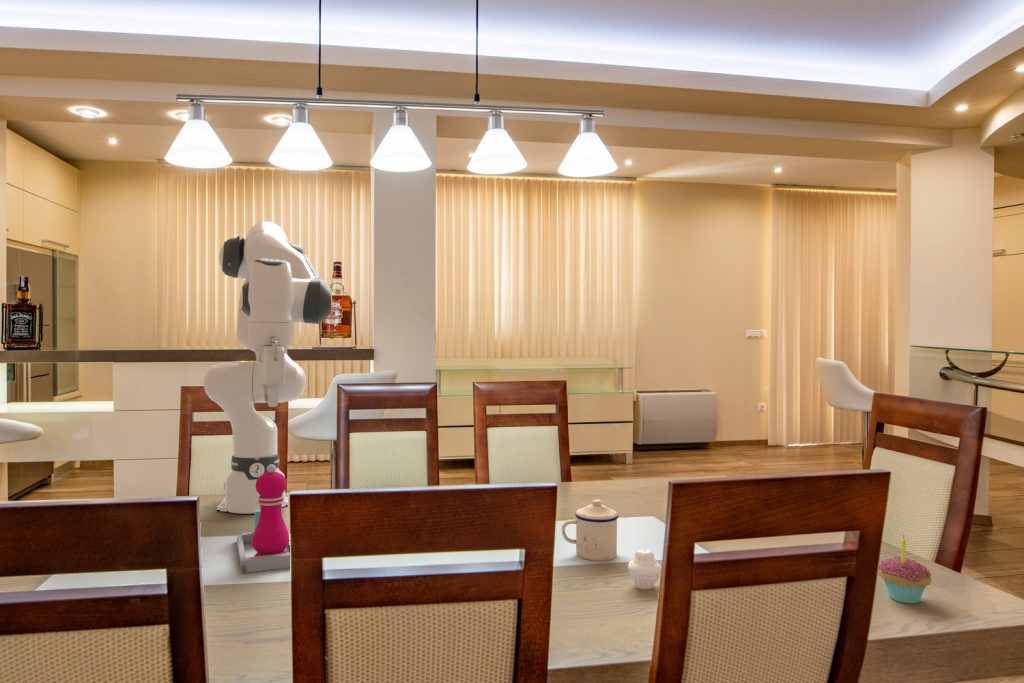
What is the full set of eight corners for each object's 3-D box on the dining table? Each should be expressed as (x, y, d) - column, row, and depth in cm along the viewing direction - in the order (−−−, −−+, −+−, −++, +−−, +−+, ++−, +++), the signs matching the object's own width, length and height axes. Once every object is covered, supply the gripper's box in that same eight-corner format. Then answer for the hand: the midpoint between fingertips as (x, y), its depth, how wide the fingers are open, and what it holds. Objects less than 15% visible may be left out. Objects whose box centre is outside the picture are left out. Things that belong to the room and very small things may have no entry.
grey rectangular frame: (236, 541, 152) (236, 510, 152) (290, 536, 157) (290, 505, 157) (241, 573, 132) (241, 537, 132) (302, 565, 137) (302, 531, 137)
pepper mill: (276, 569, 134) (277, 468, 134) (244, 566, 136) (244, 466, 136) (296, 558, 141) (296, 462, 141) (265, 555, 143) (265, 460, 143)
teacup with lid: (615, 548, 150) (615, 495, 150) (620, 562, 141) (620, 506, 141) (560, 547, 150) (561, 494, 150) (562, 560, 141) (562, 505, 141)
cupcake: (930, 611, 117) (931, 542, 117) (874, 601, 121) (875, 534, 121) (931, 595, 124) (932, 530, 124) (878, 586, 129) (879, 523, 129)
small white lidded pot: (620, 585, 128) (621, 547, 128) (642, 578, 132) (643, 542, 132) (645, 595, 123) (646, 556, 123) (667, 587, 127) (668, 550, 127)
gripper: (293, 337, 131) (292, 408, 131) (282, 336, 150) (281, 399, 150) (258, 337, 129) (257, 410, 129) (251, 336, 147) (251, 400, 148)
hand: (270, 404), depth 140 cm, fingers open, 8 cm apart
